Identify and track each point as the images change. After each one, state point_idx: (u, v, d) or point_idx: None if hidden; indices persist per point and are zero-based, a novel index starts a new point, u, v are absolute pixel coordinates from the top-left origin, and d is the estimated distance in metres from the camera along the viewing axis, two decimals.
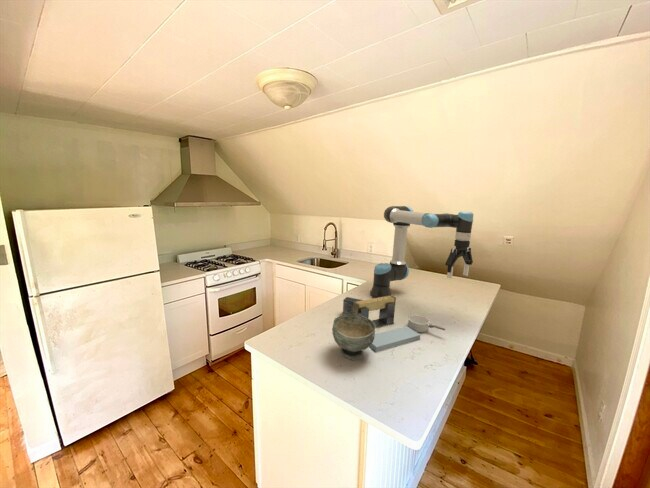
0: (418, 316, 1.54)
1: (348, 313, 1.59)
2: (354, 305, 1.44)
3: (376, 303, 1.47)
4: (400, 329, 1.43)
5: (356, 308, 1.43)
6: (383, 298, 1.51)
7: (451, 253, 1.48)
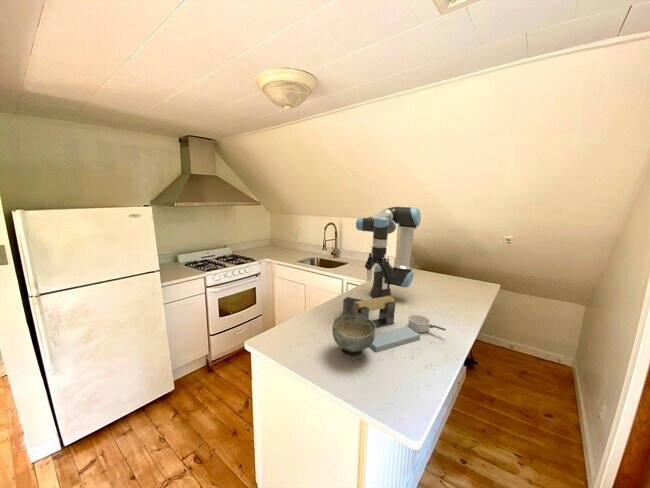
0: (418, 316, 1.54)
1: (348, 313, 1.59)
2: (354, 305, 1.44)
3: (376, 303, 1.47)
4: (400, 329, 1.43)
5: (356, 308, 1.43)
6: (383, 298, 1.51)
7: None
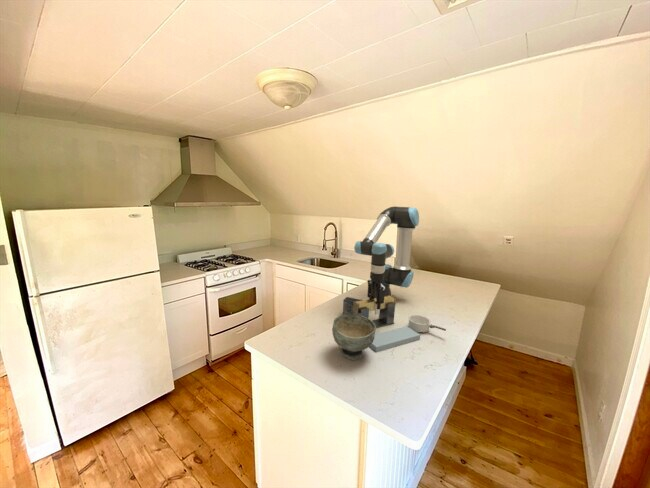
0: (419, 316, 1.54)
1: (348, 313, 1.59)
2: (354, 305, 1.44)
3: None
4: (400, 329, 1.43)
5: (356, 308, 1.43)
6: None
7: None
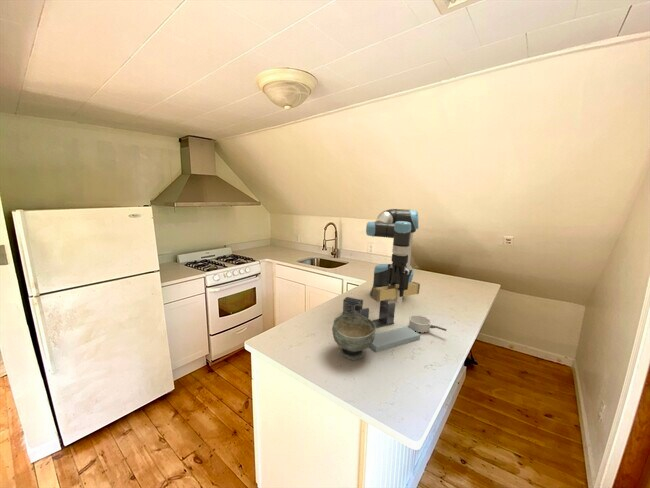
0: (419, 316, 1.53)
1: (348, 313, 1.59)
2: (374, 292, 1.26)
3: None
4: (400, 329, 1.43)
5: (376, 295, 1.25)
6: None
7: None
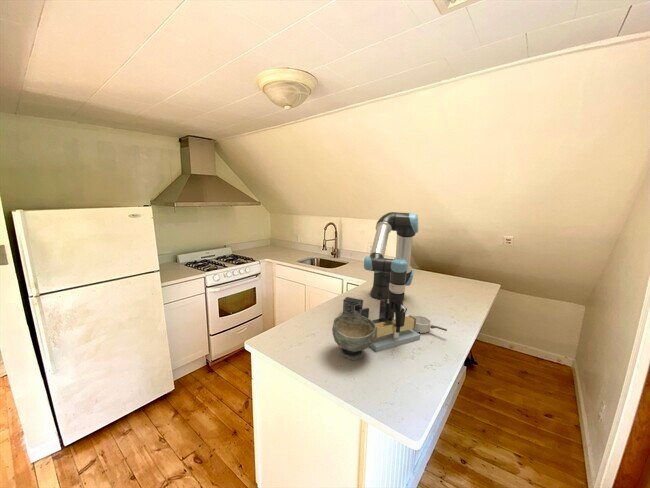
0: (420, 317, 1.53)
1: (348, 313, 1.59)
2: None
3: None
4: None
5: None
6: None
7: None
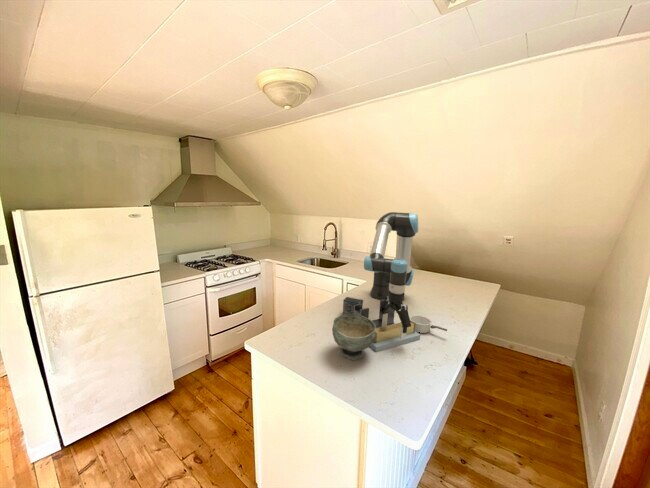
0: (420, 317, 1.53)
1: (348, 313, 1.59)
2: None
3: (395, 331, 1.33)
4: None
5: None
6: None
7: None
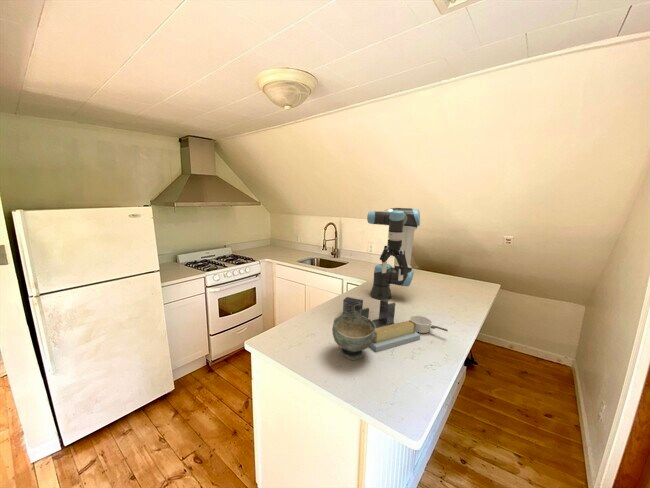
0: (420, 317, 1.53)
1: (348, 313, 1.59)
2: None
3: (395, 331, 1.33)
4: None
5: None
6: (402, 324, 1.37)
7: None
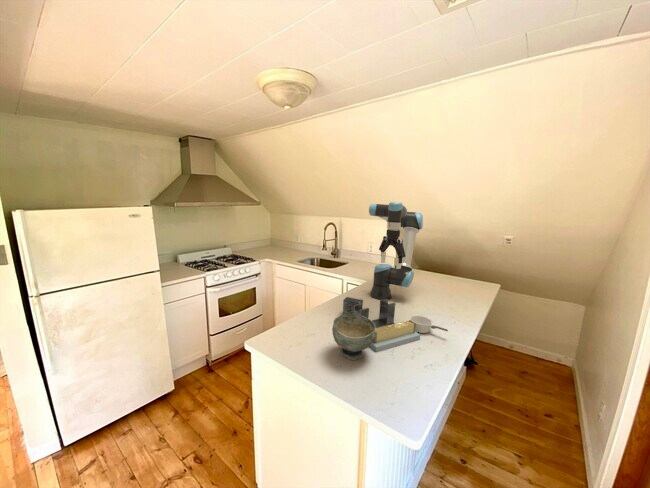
0: (420, 317, 1.53)
1: (348, 313, 1.59)
2: None
3: (395, 331, 1.33)
4: None
5: None
6: (402, 324, 1.37)
7: None
